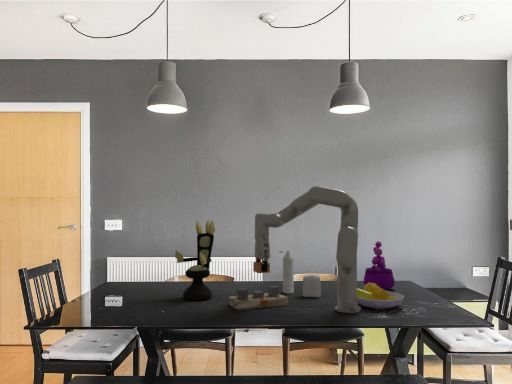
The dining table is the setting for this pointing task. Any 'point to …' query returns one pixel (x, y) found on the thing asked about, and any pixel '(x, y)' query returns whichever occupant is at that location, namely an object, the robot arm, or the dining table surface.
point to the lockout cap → (260, 267)
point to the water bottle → (288, 273)
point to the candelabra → (199, 264)
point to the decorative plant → (379, 271)
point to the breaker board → (258, 302)
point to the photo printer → (311, 286)
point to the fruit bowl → (377, 297)
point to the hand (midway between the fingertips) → (261, 270)
